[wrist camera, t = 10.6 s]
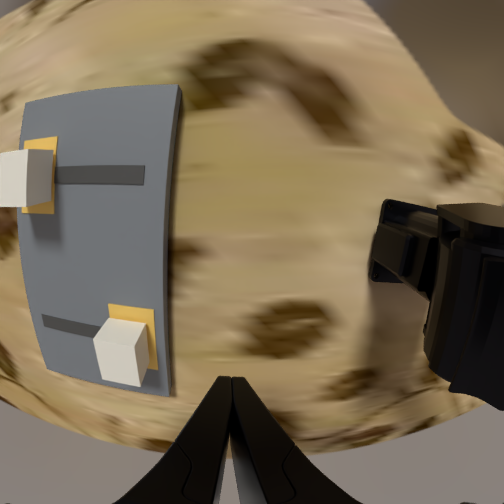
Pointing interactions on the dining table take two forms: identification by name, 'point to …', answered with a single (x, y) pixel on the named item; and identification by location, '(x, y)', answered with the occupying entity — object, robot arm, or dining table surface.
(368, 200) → the dining table surface
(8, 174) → the slider
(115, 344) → the slider
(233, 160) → the dining table surface
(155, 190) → the switch panel
